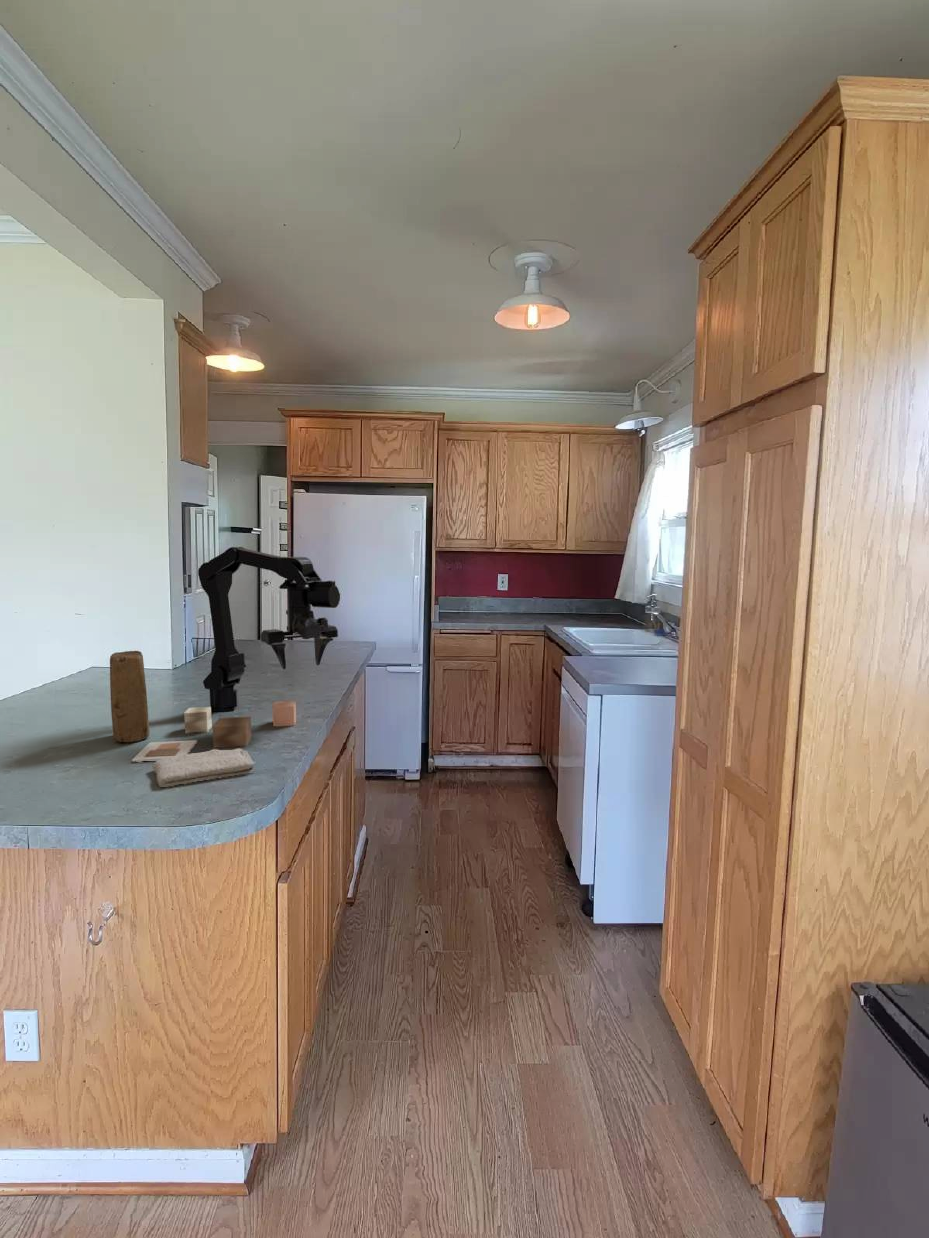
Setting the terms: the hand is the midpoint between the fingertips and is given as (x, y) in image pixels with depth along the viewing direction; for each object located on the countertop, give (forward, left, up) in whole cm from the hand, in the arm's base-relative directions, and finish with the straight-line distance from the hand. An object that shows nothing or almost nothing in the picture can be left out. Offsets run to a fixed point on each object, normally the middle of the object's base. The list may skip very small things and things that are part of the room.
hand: (301, 667), depth 172 cm
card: (-27, -26, -13) cm, 39 cm away
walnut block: (-14, -21, -13) cm, 28 cm away
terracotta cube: (-4, -7, -13) cm, 15 cm away
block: (-38, -13, -13) cm, 42 cm away
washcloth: (-16, -40, -14) cm, 45 cm away
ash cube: (-24, -9, -13) cm, 28 cm away
